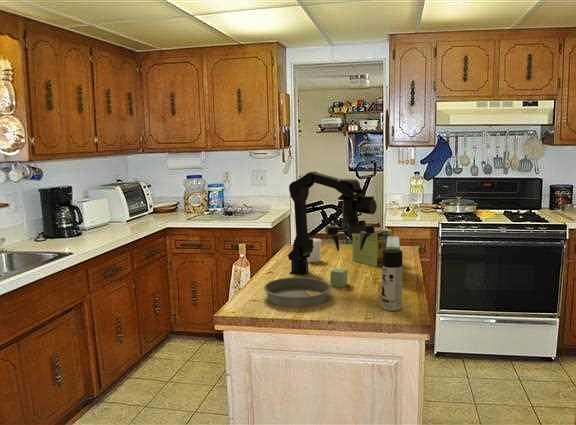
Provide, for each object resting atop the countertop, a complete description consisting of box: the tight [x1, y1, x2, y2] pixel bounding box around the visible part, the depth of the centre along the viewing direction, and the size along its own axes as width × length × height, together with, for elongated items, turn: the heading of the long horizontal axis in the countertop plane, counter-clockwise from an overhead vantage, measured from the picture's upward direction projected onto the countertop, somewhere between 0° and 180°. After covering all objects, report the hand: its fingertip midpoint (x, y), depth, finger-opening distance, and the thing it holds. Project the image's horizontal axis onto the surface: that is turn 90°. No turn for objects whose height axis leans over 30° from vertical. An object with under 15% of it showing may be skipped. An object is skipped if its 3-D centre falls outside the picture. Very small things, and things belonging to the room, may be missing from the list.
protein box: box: [352, 226, 393, 267], centre depth 234 cm, size 10×15×16 cm
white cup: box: [307, 237, 322, 263], centre depth 238 cm, size 8×8×10 cm
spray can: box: [381, 249, 403, 312], centre depth 171 cm, size 7×7×20 cm
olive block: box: [330, 267, 348, 288], centre depth 200 cm, size 5×5×6 cm
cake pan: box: [263, 276, 332, 308], centre depth 186 cm, size 25×25×4 cm
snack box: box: [386, 236, 401, 250], centre depth 210 cm, size 21×6×15 cm, turn 168°
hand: (349, 250), depth 201 cm, fingers open, 9 cm apart
